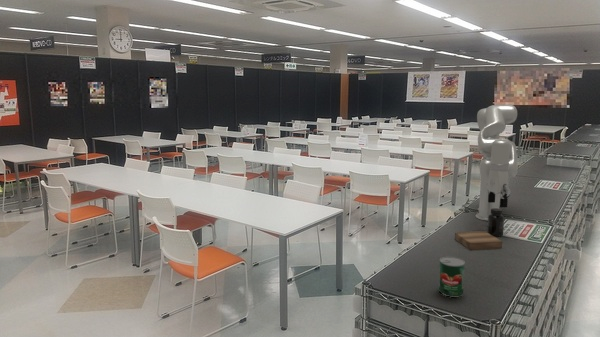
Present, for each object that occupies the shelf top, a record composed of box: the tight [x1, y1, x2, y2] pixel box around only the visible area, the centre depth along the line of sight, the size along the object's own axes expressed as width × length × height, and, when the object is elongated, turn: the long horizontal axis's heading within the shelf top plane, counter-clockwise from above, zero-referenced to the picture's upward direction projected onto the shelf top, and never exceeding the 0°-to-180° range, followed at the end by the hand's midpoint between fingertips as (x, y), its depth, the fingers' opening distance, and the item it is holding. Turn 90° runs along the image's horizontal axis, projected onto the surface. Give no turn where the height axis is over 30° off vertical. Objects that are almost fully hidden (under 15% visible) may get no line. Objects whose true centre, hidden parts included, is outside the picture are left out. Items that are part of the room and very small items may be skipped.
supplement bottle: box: [486, 208, 505, 238], centre depth 192 cm, size 7×7×12 cm
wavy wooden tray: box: [454, 230, 503, 251], centre depth 182 cm, size 14×14×3 cm
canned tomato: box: [438, 256, 466, 297], centre depth 137 cm, size 8×8×11 cm
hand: (497, 204), depth 190 cm, fingers open, 9 cm apart
